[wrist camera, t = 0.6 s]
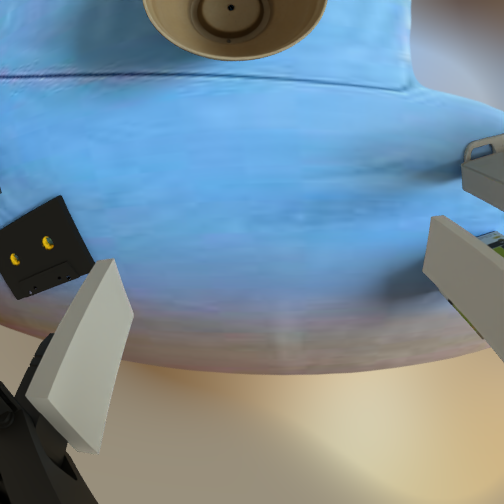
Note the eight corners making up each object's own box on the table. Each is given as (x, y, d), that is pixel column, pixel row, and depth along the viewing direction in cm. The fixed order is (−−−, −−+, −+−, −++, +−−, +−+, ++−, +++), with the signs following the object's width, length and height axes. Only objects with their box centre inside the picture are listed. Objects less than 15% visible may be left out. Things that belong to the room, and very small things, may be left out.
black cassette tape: (22, 294, 41) (16, 301, 39) (-11, 236, 36) (-18, 242, 34) (98, 264, 41) (93, 272, 39) (62, 193, 35) (55, 198, 33)
